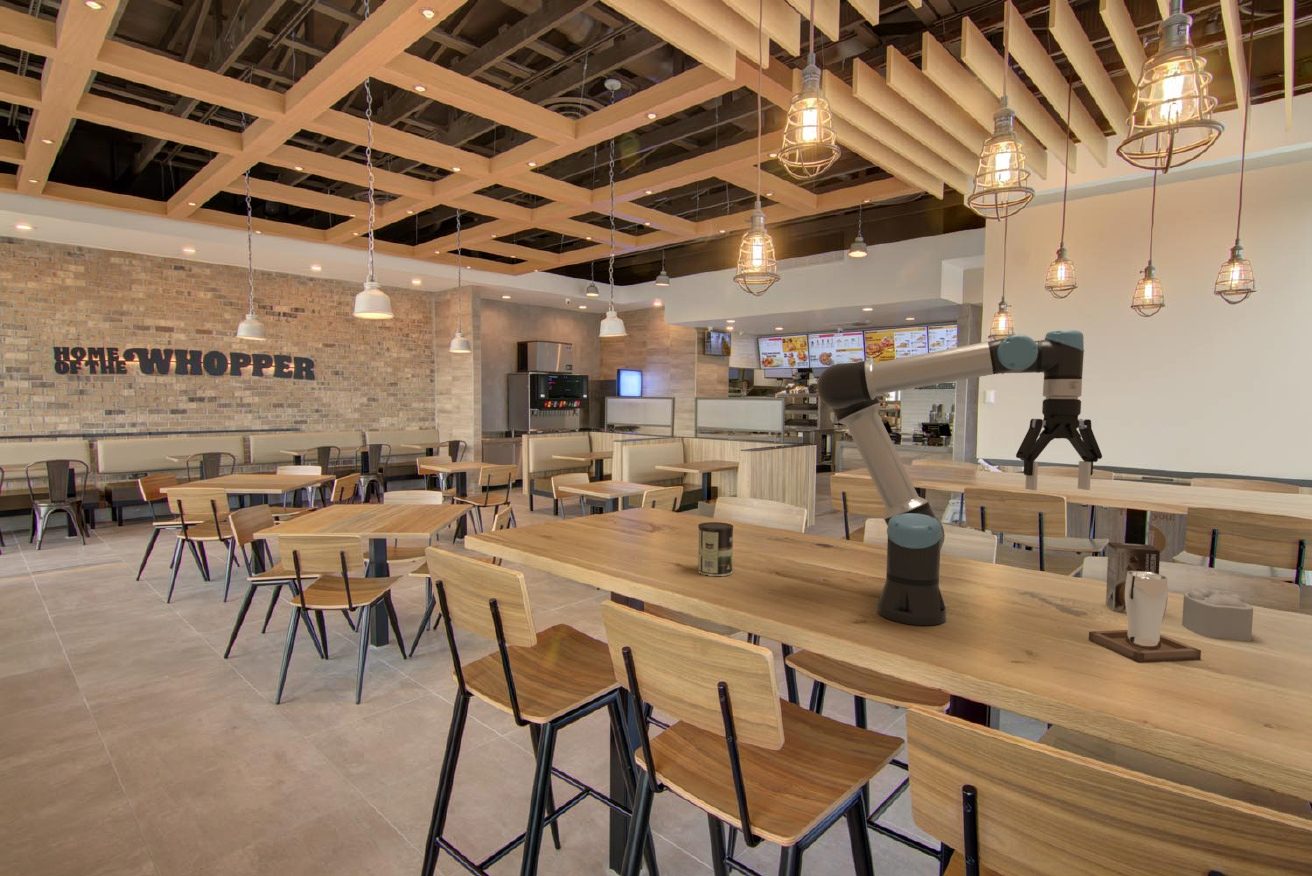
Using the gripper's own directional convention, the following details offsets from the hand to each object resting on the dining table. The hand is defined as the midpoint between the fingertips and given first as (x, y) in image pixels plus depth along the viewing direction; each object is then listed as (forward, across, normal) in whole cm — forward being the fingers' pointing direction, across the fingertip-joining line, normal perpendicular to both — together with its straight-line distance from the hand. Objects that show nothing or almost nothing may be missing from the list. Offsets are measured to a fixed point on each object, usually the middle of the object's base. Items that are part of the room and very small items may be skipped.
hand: (1057, 489), depth 147 cm
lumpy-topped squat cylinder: (+31, +32, -10) cm, 46 cm away
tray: (+31, +5, -19) cm, 36 cm away
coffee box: (+31, +25, +4) cm, 40 cm away
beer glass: (+30, +5, -19) cm, 36 cm away
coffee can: (+31, -70, +48) cm, 90 cm away
